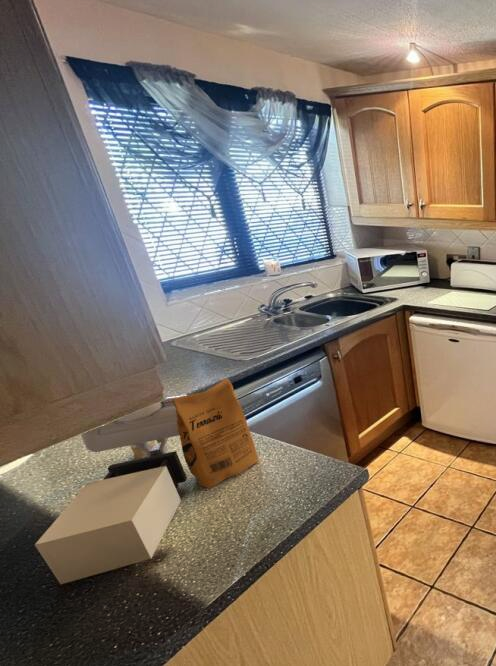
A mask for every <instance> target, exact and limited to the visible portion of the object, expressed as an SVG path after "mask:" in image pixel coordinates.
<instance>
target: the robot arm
mask: <svg viewBox="0 0 496 666" xmlns="http://www.w3.org/2000/svg"><path fill="white" fill-rule="evenodd" d="M181 396H187V394H181V395H179V396H169V397H163V398H164V400H163V401H162V402H160V403H157V404H155V405H152V406H150V407H147V408H144V409H142V410H139V411H137V412H134V413H132V414H129V415H127V416H124V417H122V418H120V419H117V420H115V421H113V422H110V423H108V424H106V425H104V426H101V427H98V428H96V429H93V430H91V431H88V432H86V433H83V434H81V433H80V435H81V439H82V441H83V444H84V445H85V448H86V450H88V451H89V452H92V453H100V452H105V451H109V450H114V449H120V448H123V447H128V446H129V447H130V445H134V444H136V446H137V448H139V449H141V450H143V451H145V452H147V454H148V456H147V457H150V456H154V455H159V454H164V453H168V446H167V445H166V444H167V442H168V440H169V439H170V438H173V437H178V436H179V437H180V435H179V432H178V428H179V427H178V425H177V413H176V408H175V406H174V402H173V399H172V398H178V397H181ZM149 441H154V442H156V444H159V445H156V446H154V447H153V446H152V445H151V444H149V443H148V442H149Z"/></svg>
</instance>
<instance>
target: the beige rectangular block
mask: <svg viewBox="0 0 496 666" xmlns="http://www.w3.org/2000/svg"><path fill="white" fill-rule="evenodd" d="M103 479H104V478H103ZM103 479H101V480H95V481H91V482H87V483H86V484H85V485H84V486H83V487H82V488H81V490H80V491H78V493H77V495H76V496H75V497H74V498H73V499H72V500H71V502H70V503H69V504H68V505H67V506H66V508H65V509H64V510H63V511H62V512H61V513H60V514H59V516H58V517H57V518H56V519H55V520H54V522H52V524H51V525H50V526H49V527H48V528H47V530H46V531H45V532H44V533H42V535H41V536H40V538H39V539H38V540H37V541H36V542H35V544H34V546H35V548H36V549H37V551H38V553H39V554H40V556H41V557H42V559H43V560H44V561H45V563H46V565H47V566H48V568H49V570H51V572H52V573H53V575H54V577H55V578H56V580H57V582H58V583H59V584H60V585H64V584H68V583H71V582H74V581H77V580H81V579H86V578H88V577H91V576H95V575H98V574H99V575H100V574H102V573H106V572H109V571H114V570H117V569H121V568H123V567H127V566H130V565H133V564H138V563H141V562H144V561H148V560H152V558H153V556H154V555H155V553H156V550H157V549H158V546H159V545H160V543H161V541H162V539H163V537H164V535H165V533H166V532H167V529H168V527H169V525H170V523H171V521H172V519H173V517H174V516H175V514H176V512H177V510H178V508H179V506H180V504H181V502H182V500H181V497H180V495H179V493H178V489H177V490H176V488H175V485H174V483H173V481H172V479H171V476H170V474H169V472H168V469H167V467H166V466H163V467H159V468H154V469H150V470H145V471H141V472H136V473H132V474H127V475H122V476H118V477H113V478H109V479H104V480H103Z"/></svg>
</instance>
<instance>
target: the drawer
mask: <svg viewBox="0 0 496 666" xmlns="http://www.w3.org/2000/svg"><path fill="white" fill-rule="evenodd" d="M163 466H166V467H167V469H168V472H169V474H170V476H171V479H172V481H173V483H174V485H175V488H176V490H177V491H178V489H179V486H180V485H179V484H182V483H186V481H187V479H188V476H187V474H186V472H185V469H184V468H183V465H182V462H181V460H180V458H179V455H178V452H177V451H176V450H173V451H167V452H166V453H164V454H159V455H154V456H150V457H149V456H146V457H142V458H136V459H132V460H128V461H122V462H119V463H118V462H116V463H113V464H110V465H109V466H108V467H107V471H108V472H107V474H106V475H105V476H104V478H103V479H102V480H104V479H109V478H113V477H118V476H122V475H127V474H132V473H136V472H141V471H145V470H150V469H154V468H159V467H163Z"/></svg>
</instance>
